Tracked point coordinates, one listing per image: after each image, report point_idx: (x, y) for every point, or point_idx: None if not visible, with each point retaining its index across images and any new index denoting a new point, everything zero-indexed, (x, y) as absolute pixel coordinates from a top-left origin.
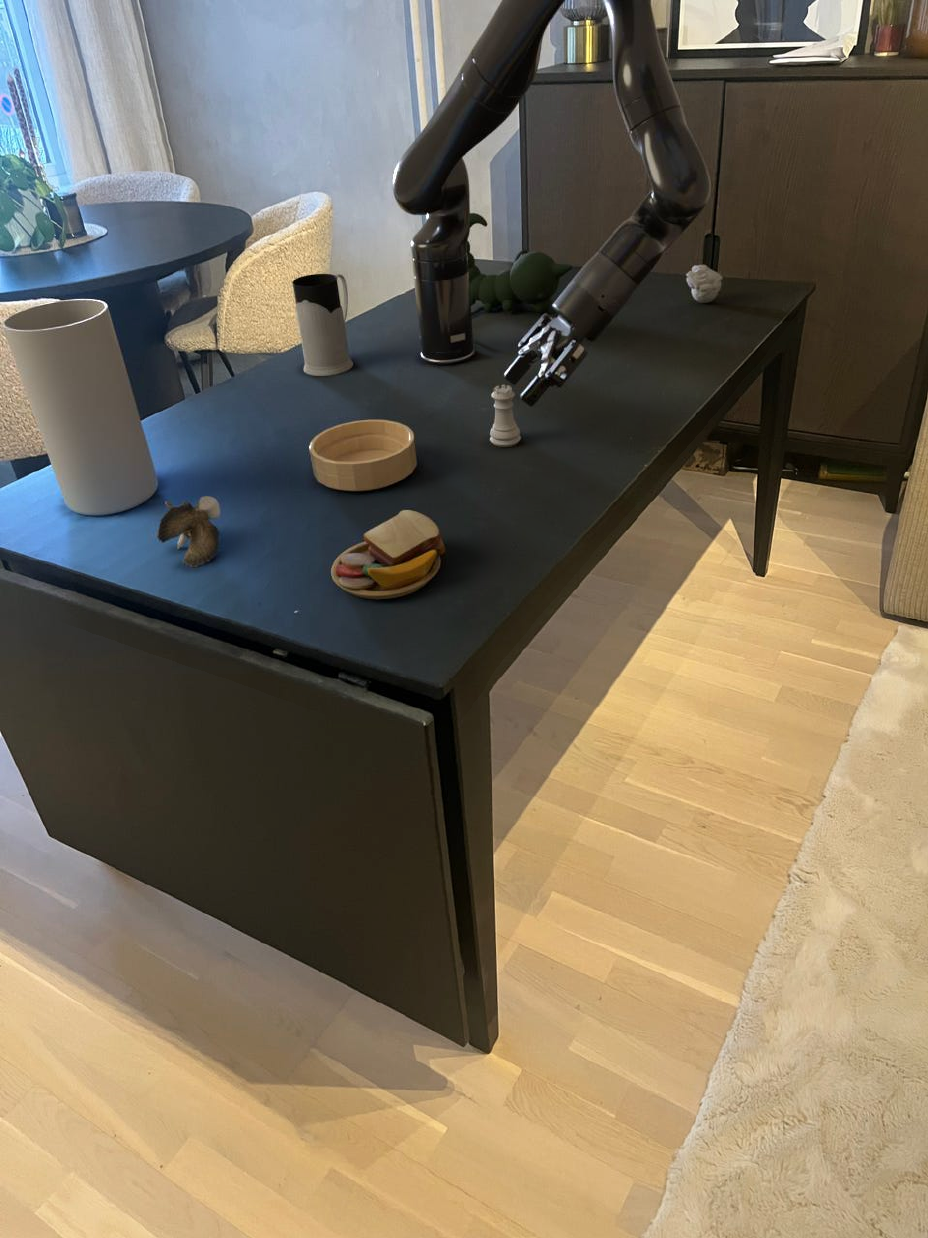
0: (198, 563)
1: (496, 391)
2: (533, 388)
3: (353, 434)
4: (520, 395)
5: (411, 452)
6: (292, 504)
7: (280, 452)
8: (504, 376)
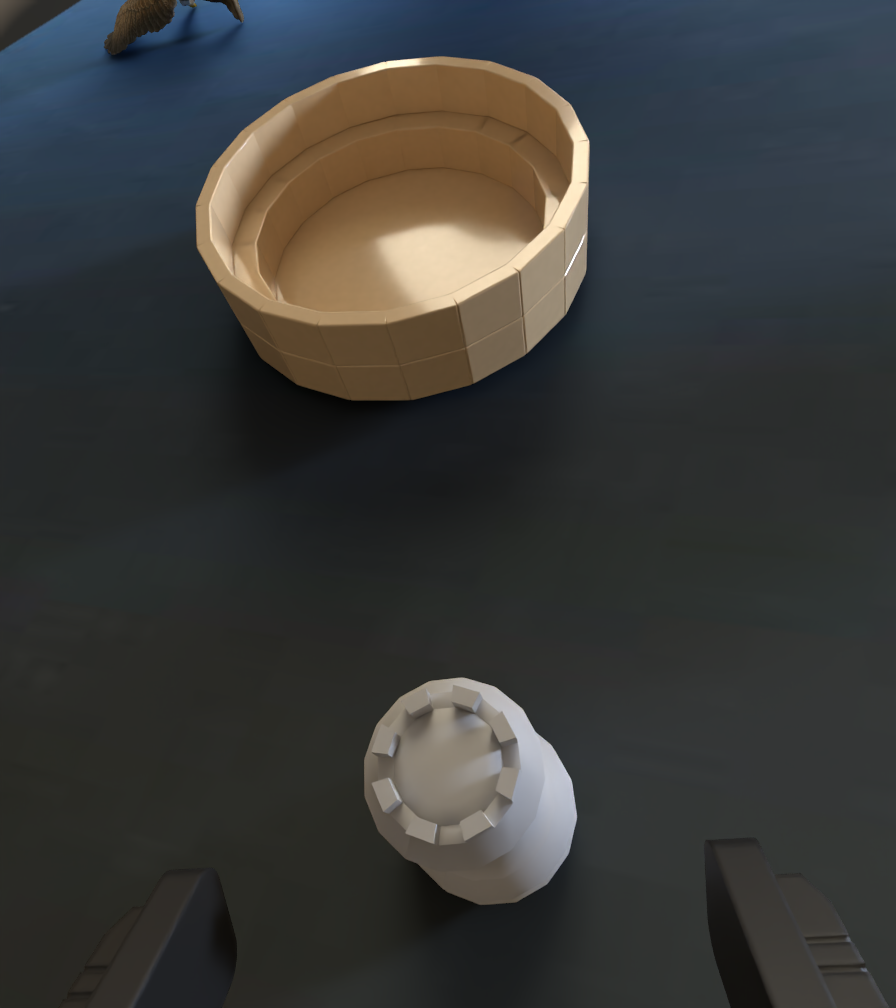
0: (107, 40)
1: (404, 699)
2: (84, 1000)
3: (566, 176)
4: (203, 870)
5: (286, 340)
6: None
7: (634, 70)
8: (726, 839)
